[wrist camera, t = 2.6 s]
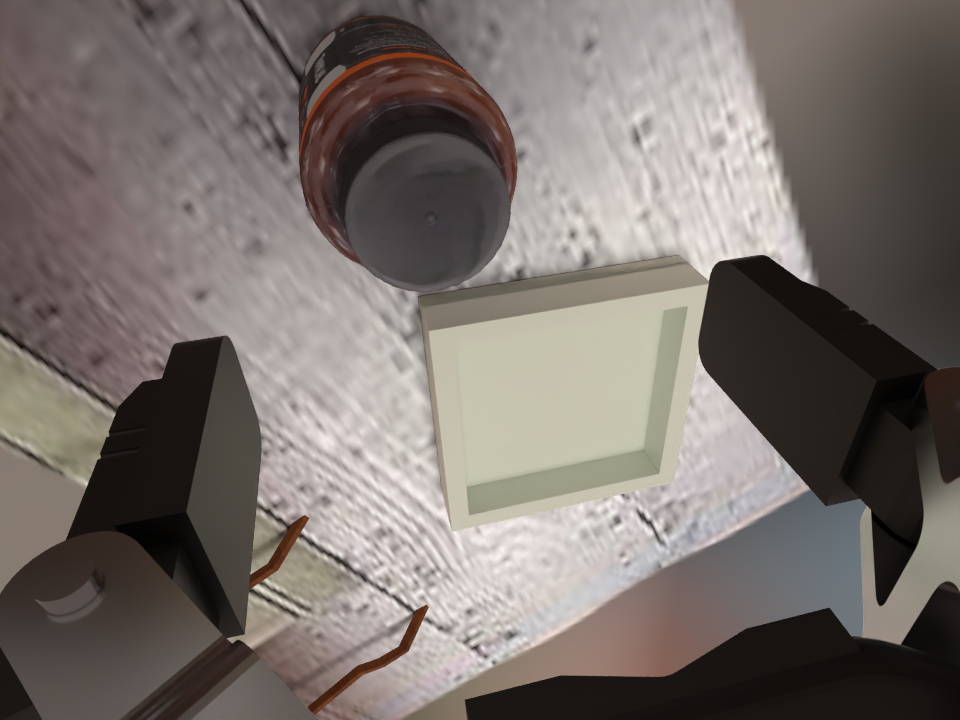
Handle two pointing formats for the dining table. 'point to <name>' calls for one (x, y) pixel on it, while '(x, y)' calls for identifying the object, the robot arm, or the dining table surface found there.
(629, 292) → the tray
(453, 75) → the supplement bottle
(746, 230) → the dining table surface
